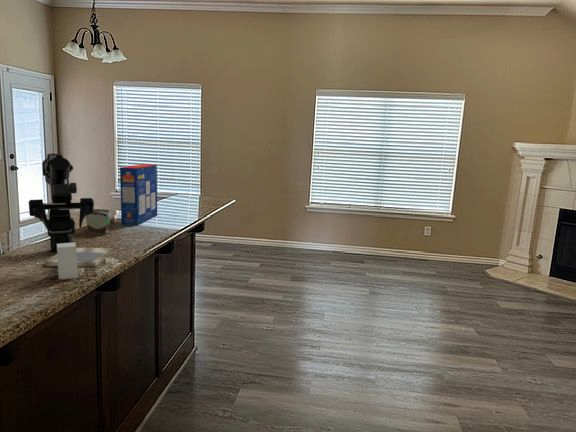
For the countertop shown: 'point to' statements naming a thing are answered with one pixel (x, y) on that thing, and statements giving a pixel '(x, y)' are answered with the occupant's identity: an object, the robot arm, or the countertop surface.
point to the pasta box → (138, 193)
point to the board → (85, 256)
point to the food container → (98, 221)
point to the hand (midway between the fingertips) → (64, 227)
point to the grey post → (67, 260)
